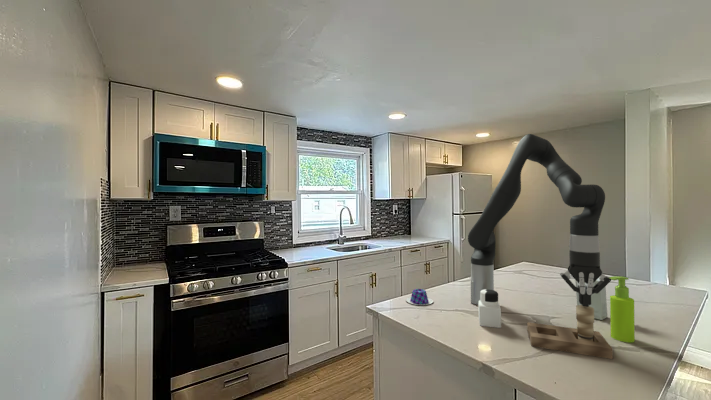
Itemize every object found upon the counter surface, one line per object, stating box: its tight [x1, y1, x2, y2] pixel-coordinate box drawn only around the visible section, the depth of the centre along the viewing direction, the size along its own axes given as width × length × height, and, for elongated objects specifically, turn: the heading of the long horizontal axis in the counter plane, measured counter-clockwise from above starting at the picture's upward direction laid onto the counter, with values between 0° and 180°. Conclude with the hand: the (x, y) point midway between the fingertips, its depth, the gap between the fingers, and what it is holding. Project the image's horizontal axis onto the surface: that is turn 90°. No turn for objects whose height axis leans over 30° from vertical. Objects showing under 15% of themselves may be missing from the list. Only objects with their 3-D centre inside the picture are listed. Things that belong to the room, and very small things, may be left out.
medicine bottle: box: [477, 289, 502, 329], centre depth 112 cm, size 7×7×12 cm
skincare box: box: [575, 277, 608, 321], centre depth 119 cm, size 8×6×15 cm
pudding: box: [405, 288, 434, 306], centre depth 137 cm, size 12×12×5 cm
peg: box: [575, 304, 595, 341], centre depth 94 cm, size 4×4×12 cm
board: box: [526, 321, 614, 360], centre depth 96 cm, size 20×12×3 cm, turn 66°
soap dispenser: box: [609, 275, 636, 344], centre depth 99 cm, size 6×7×20 cm
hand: (585, 305), depth 94 cm, fingers closed
